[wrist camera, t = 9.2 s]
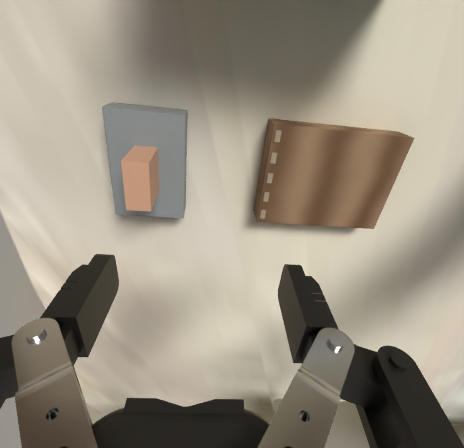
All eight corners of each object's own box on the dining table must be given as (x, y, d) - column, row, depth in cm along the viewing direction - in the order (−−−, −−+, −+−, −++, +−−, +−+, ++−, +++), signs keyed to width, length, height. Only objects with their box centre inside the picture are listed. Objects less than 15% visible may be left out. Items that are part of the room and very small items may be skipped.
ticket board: (398, 131, 33) (414, 138, 30) (363, 217, 39) (374, 229, 36) (269, 118, 31) (274, 124, 28) (253, 210, 37) (256, 222, 34)
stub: (187, 110, 30) (180, 125, 23) (185, 206, 36) (179, 241, 29) (111, 102, 29) (80, 116, 22) (122, 202, 35) (101, 237, 28)
